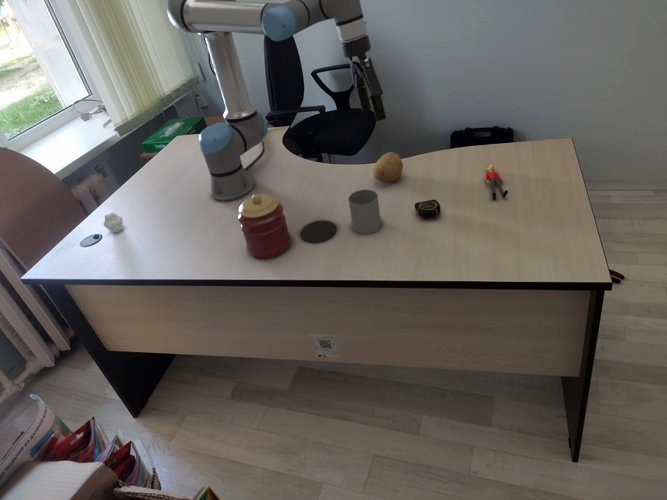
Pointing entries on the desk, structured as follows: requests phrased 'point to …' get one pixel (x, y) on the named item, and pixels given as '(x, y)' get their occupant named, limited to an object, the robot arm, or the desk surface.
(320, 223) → the coaster
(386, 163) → the potato
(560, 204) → the desk surface
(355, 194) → the cup
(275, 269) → the desk surface
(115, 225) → the beige knobbly lump
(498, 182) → the person figure
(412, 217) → the desk surface
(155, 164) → the desk surface
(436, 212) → the tape measure
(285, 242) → the kitchen canister
